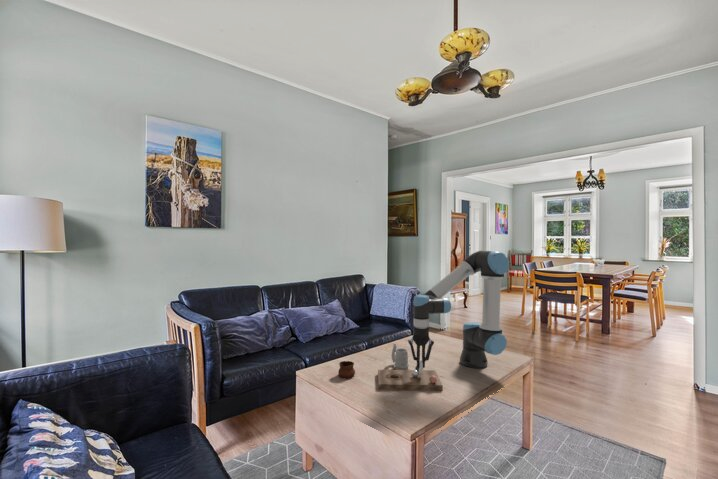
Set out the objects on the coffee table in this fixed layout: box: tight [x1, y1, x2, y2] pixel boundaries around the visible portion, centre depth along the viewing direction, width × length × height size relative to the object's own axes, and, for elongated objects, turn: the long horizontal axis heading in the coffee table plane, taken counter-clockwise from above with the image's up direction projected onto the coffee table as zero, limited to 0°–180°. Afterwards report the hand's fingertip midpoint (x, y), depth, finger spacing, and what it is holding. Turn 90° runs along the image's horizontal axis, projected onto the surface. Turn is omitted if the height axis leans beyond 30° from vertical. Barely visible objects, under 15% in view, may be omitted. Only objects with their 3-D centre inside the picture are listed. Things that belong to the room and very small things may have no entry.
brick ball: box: [429, 375, 437, 383], centre depth 164 cm, size 4×4×4 cm
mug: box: [391, 343, 409, 370], centre depth 191 cm, size 8×12×12 cm, turn 36°
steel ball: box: [412, 369, 419, 378], centre depth 170 cm, size 4×4×4 cm
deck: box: [377, 369, 444, 392], centre depth 171 cm, size 30×18×2 cm, turn 88°
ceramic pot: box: [337, 360, 356, 380], centre depth 178 cm, size 18×18×7 cm
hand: (420, 374), depth 170 cm, fingers closed
